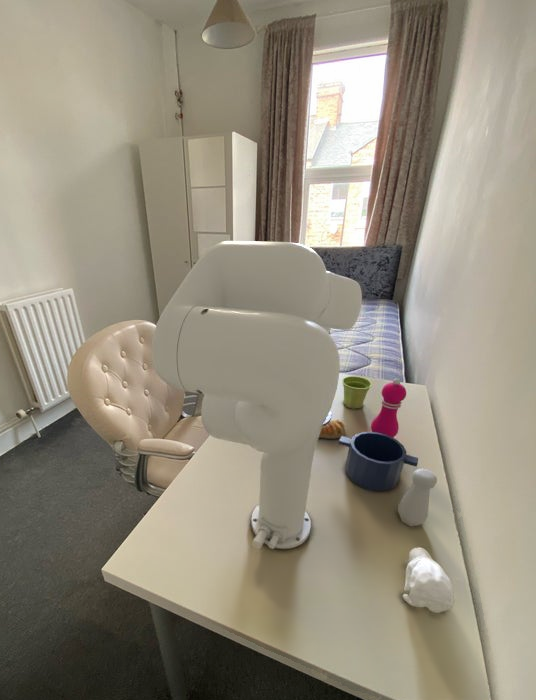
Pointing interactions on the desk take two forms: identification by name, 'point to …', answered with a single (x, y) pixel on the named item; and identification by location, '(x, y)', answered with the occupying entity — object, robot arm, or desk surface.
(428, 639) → the desk surface
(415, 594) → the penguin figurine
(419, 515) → the salt shaker
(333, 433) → the pastry
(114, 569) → the desk surface
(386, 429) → the pepper mill
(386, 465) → the pot
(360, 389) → the plant pot
